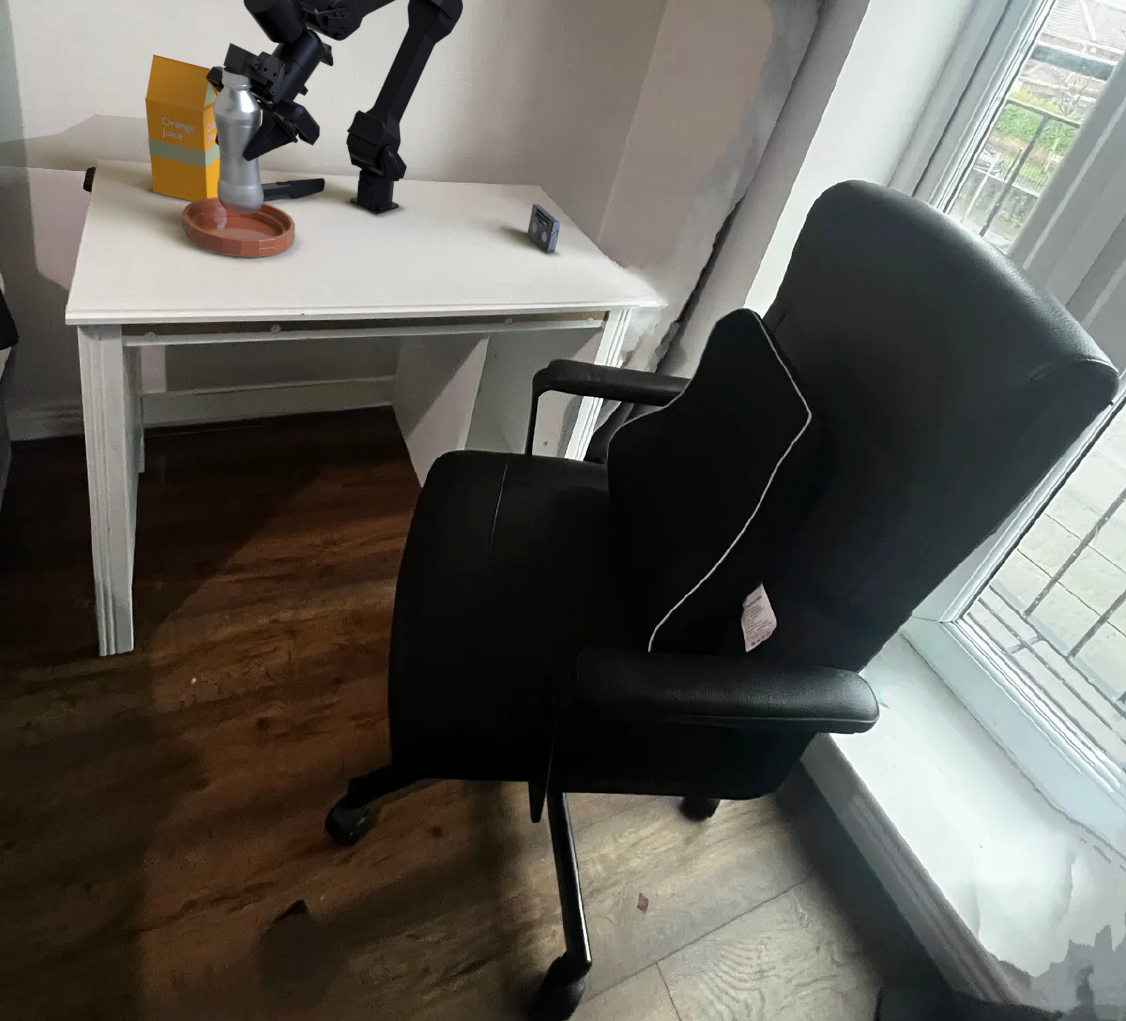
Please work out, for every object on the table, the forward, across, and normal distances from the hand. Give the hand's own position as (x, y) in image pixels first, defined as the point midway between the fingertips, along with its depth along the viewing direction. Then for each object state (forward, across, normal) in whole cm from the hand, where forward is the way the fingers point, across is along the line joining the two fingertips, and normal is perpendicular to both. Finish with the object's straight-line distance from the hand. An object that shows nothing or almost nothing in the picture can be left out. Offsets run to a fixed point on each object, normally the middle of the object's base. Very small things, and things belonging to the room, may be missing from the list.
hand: (231, 151), depth 120 cm
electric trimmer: (-3, -9, +22) cm, 25 cm away
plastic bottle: (+6, 0, +8) cm, 9 cm away
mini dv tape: (-24, +26, +44) cm, 57 cm away
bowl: (+9, 0, +10) cm, 13 cm away
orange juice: (+6, -18, +13) cm, 23 cm away
